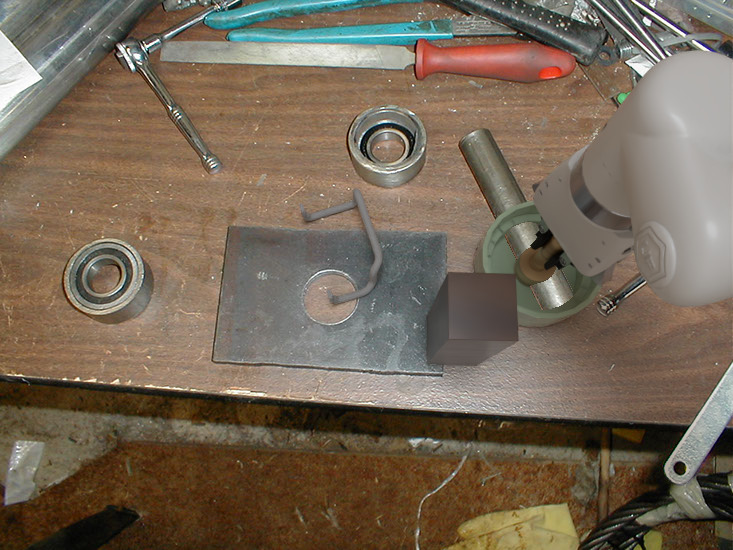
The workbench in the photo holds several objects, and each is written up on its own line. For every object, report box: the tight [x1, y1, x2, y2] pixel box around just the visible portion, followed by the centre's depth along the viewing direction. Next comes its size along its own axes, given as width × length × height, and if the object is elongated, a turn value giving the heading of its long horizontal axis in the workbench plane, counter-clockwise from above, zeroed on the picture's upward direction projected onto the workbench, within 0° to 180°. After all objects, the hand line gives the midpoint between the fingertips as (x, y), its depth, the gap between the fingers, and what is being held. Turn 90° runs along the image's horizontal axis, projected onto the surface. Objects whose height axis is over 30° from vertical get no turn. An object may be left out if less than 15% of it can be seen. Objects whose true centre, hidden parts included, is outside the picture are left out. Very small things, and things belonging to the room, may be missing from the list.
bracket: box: [299, 188, 384, 304], centre depth 68 cm, size 13×8×5 cm, turn 18°
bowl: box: [473, 200, 604, 328], centre depth 67 cm, size 14×14×6 cm
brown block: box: [426, 271, 519, 367], centre depth 58 cm, size 6×6×20 cm
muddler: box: [514, 235, 563, 287], centre depth 63 cm, size 4×4×13 cm
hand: (549, 251), depth 62 cm, fingers closed on muddler, 2 cm apart
